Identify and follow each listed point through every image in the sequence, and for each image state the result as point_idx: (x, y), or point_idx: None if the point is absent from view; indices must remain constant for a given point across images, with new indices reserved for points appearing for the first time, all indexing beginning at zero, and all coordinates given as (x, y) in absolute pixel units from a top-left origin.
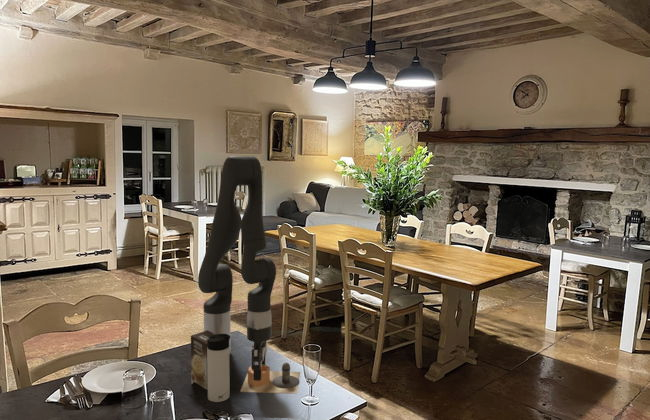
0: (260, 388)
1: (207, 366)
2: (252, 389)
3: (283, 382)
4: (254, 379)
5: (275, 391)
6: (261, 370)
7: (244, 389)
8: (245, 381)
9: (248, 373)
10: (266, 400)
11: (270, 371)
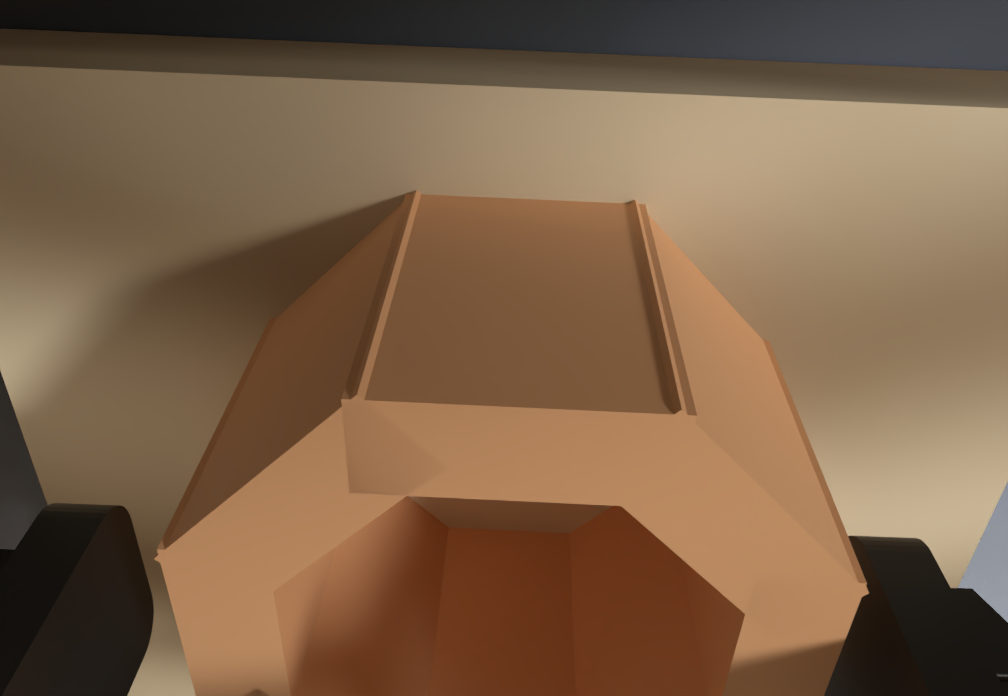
0: (189, 468)
1: None
2: (102, 333)
3: None
4: (51, 523)
5: (149, 667)
6: (698, 584)
7: (43, 158)
8: (477, 122)
9: (340, 362)
10: (11, 502)
11: (944, 576)
